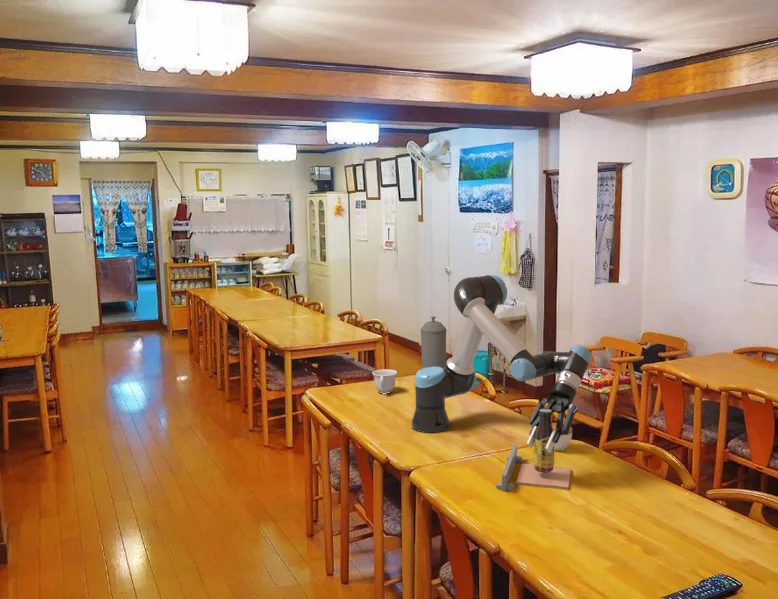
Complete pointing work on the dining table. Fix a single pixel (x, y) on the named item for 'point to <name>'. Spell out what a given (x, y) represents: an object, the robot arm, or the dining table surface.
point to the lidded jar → (562, 439)
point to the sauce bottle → (543, 443)
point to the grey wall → (509, 470)
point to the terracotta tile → (544, 477)
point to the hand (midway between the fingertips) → (538, 448)
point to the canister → (433, 344)
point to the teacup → (384, 379)
